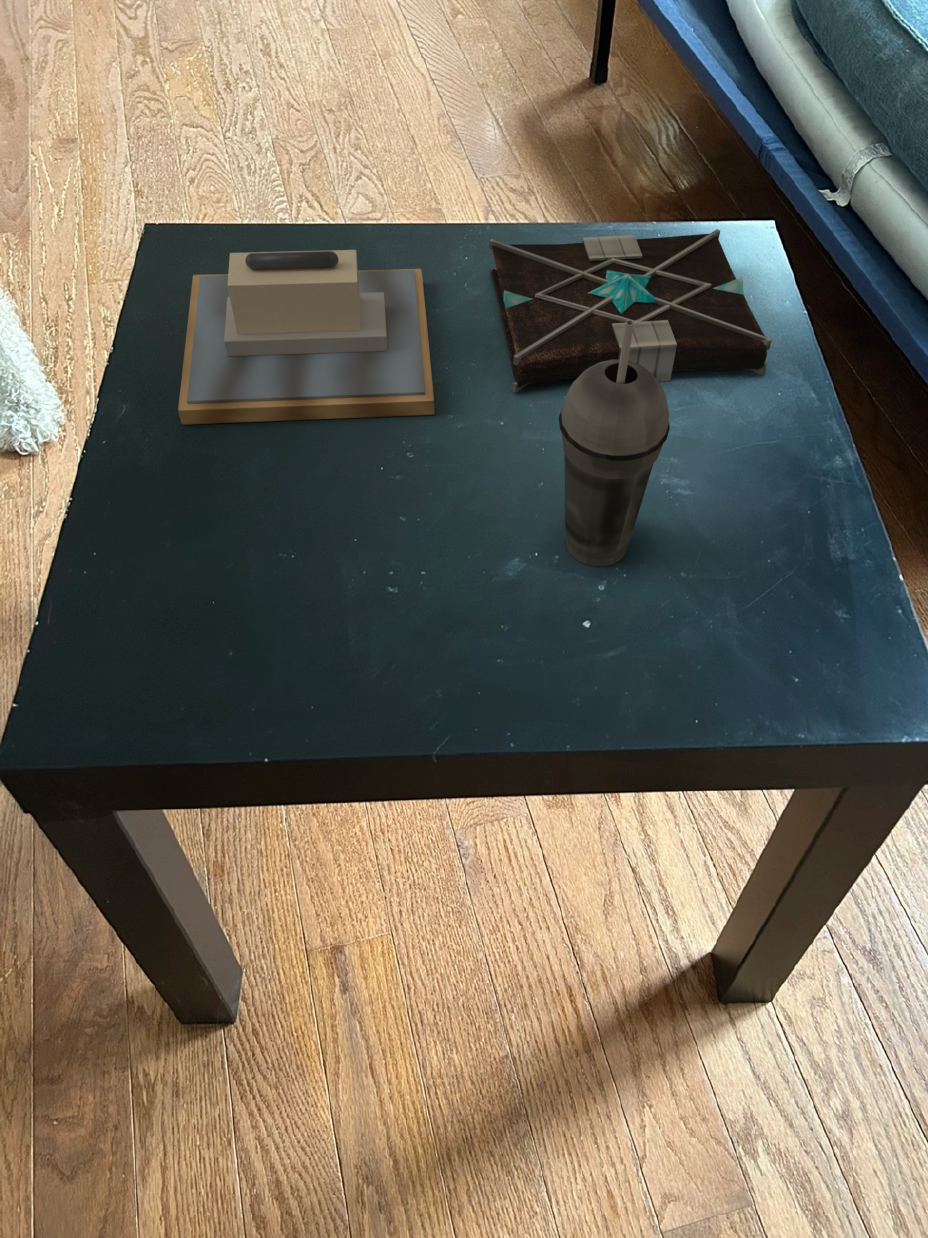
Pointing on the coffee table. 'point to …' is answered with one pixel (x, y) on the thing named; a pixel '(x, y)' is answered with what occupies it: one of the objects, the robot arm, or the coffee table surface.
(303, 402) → the board
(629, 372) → the beverage cup
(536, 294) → the book
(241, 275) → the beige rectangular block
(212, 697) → the coffee table surface
